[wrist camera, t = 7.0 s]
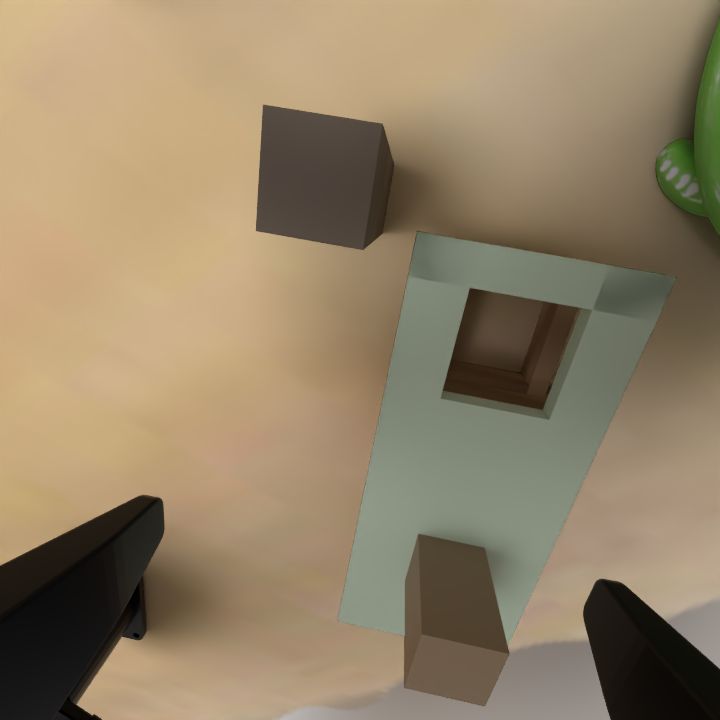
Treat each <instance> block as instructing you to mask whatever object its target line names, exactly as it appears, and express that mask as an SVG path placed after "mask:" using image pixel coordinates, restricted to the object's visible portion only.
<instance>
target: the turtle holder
mask: <svg viewBox="0 0 720 720" xmlns="http://www.w3.org/2000/svg"><path fill="white" fill-rule="evenodd" d="M656 175H657V179H658V183H659V186H660V187H661V189H662V191H663V192H664V193H665V194H666V196H667V197H668V198H669V199H670V200H671V201H673V202H674V203H675V204H676V205H677V206H679V207H680V208H682V209H683V210H685V211H687V212H690V213H692V214H696V215H700V216H706V217H708V218H709V220H710V222H711V224H712V225H713V227H714V228H715V230H716V232H717V233H718V235H719V236H720V18H719V21H718V24H717V27H716V30H715V33H714V36H713V40H712V43H711V46H710V49H709V52H708V55H707V58H706V62H705V66H704V70H703V74H702V78H701V83H700V88H699V93H698V98H697V105H696V115H695V127H694V142H693V141H692V140H688V139H678V140H676V141H674V142H672V143H670V144H669V145H668V146H667V147H666V148H664V149H663V151H662V152H661V153H660V155H659V157H658V159H657V162H656Z"/></svg>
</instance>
